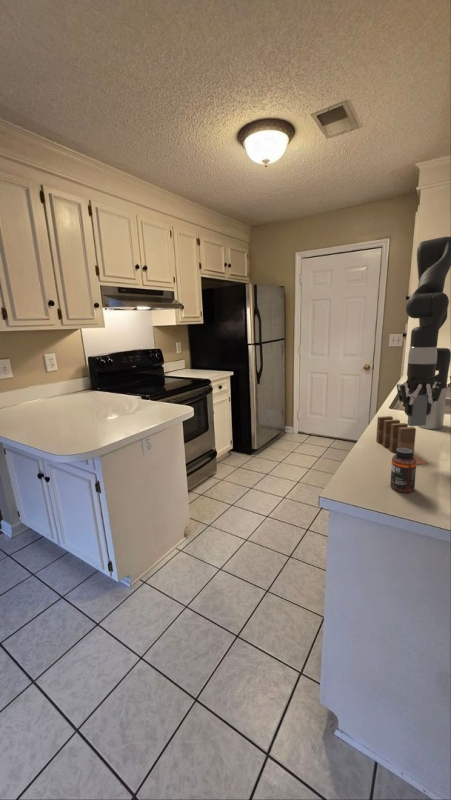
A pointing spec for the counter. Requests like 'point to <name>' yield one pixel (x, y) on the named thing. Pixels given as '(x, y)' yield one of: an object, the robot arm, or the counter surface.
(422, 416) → the domino
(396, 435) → the domino
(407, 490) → the supplement bottle
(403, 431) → the domino
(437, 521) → the counter surface
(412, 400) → the robot arm
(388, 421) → the domino
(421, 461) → the end pad
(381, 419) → the domino
